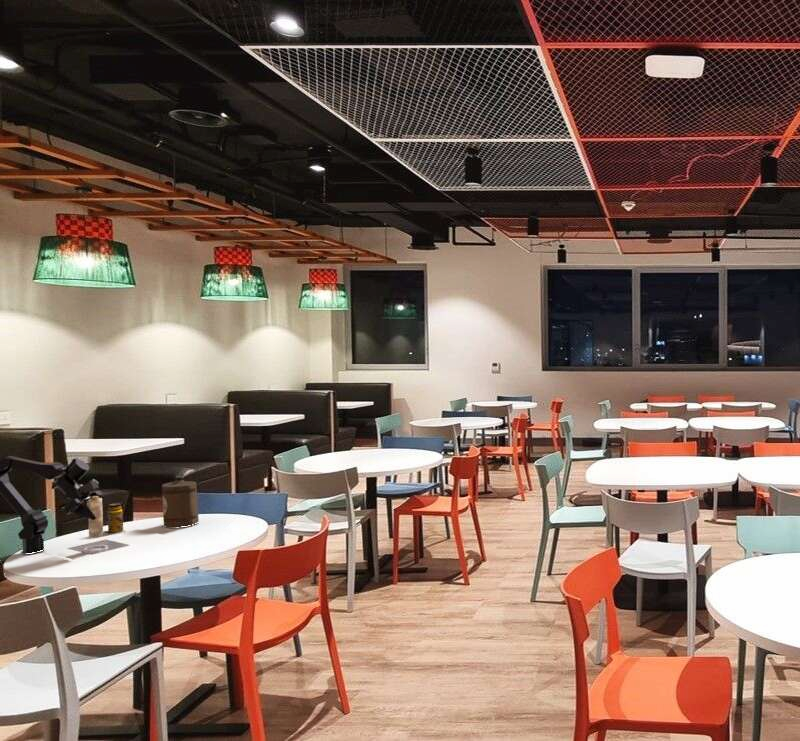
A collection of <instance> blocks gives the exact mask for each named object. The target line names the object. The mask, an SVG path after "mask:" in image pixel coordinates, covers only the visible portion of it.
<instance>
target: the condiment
mask: <svg viewBox="0 0 800 741" xmlns="http://www.w3.org/2000/svg"><path fill="white" fill-rule="evenodd" d="M107 506H108V508H107V509H108V510H107V528H108V530H103V536H104V535H105V536H107V535H115V534H121V533H126V532H127V531H126V530H124V518H123V517H124V515H123V514H124V512H123V509H122V503H121V502H115V503H109V504H108V505H107Z"/></svg>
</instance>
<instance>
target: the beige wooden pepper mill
mask: <svg viewBox="0 0 800 741" xmlns="http://www.w3.org/2000/svg"><path fill="white" fill-rule="evenodd" d="M88 508H89V509H90V510H91V512H92V513H93V514H94V516H95V517H96V519H95V520H92V519H89V518H87V519H88V537H89V538H100V537H103V536H104V534H103V531H104V522H103V521H104V519H103V516H104V512H103V498H102V497H100V498H98V496H92V499H88ZM102 512H103V513H102Z"/></svg>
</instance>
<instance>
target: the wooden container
mask: <svg viewBox="0 0 800 741" xmlns="http://www.w3.org/2000/svg"><path fill="white" fill-rule="evenodd" d="M161 488H162V516H163V517H162V519H163V527H164V526H166V527H181V526H188V525H192V524H195V523H197V522H198V521H199V505H198V504H199V502H198V486H197V482H196V481H193V480H192V481H191V480H190V481H189V480H184V476H183V475H182V474H177V475H175V480H174V481H171V482H166V483H163V484H162V486H161ZM166 527H165V528H166Z"/></svg>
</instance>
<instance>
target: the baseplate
mask: <svg viewBox="0 0 800 741" xmlns="http://www.w3.org/2000/svg"><path fill="white" fill-rule="evenodd" d="M128 546H130V544H128V543H123V542H119V541H115V540H109V539H107V538H105V539H102V540H97V541H93V542H88V543H84V544H80V545H74V546H71V547H68V548H67V549H69V550H73V551H76V552H79V553H83V554H87V555H96V554H100V553H104V552H108V551H112V550H117V549H121V548H124V547H125V548H126V547H128Z"/></svg>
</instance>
